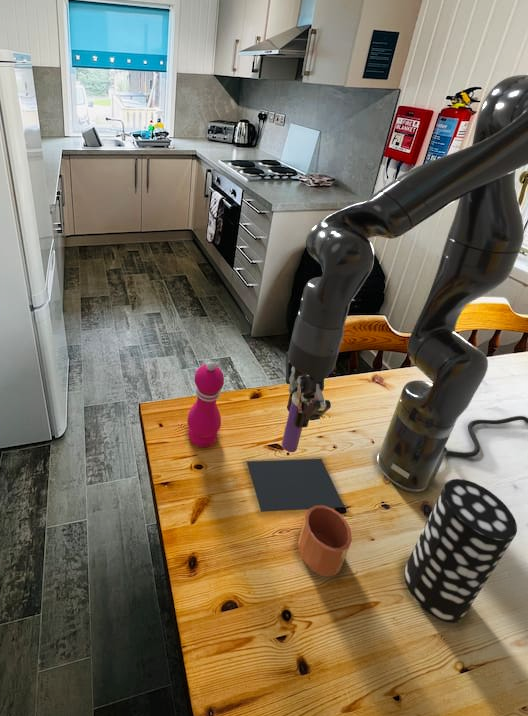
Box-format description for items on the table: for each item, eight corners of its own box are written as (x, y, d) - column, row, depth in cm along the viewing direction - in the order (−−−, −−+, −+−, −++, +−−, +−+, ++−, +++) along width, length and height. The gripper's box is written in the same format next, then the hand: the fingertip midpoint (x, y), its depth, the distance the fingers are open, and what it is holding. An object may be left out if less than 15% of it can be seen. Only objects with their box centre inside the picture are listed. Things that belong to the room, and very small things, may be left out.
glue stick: (294, 438, 76) (306, 390, 71) (300, 452, 73) (313, 403, 68) (278, 439, 75) (290, 391, 71) (284, 453, 73) (296, 403, 68)
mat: (320, 460, 82) (321, 458, 82) (344, 508, 73) (344, 507, 73) (246, 463, 81) (246, 461, 81) (260, 513, 72) (261, 511, 72)
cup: (329, 530, 70) (338, 504, 67) (349, 576, 63) (360, 550, 60) (291, 532, 69) (298, 506, 66) (307, 579, 63) (316, 552, 60)
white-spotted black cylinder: (441, 635, 57) (493, 551, 49) (391, 573, 64) (430, 490, 56) (476, 608, 60) (530, 525, 52) (425, 551, 67) (466, 471, 59)
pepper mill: (217, 452, 83) (228, 378, 75) (183, 445, 84) (190, 371, 76) (220, 425, 89) (230, 354, 81) (188, 419, 90) (195, 348, 83)
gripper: (360, 369, 59) (334, 451, 65) (319, 315, 71) (301, 389, 78) (311, 369, 58) (290, 453, 65) (279, 315, 71) (264, 389, 77)
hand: (296, 417), depth 71 cm, fingers closed on glue stick, 3 cm apart
